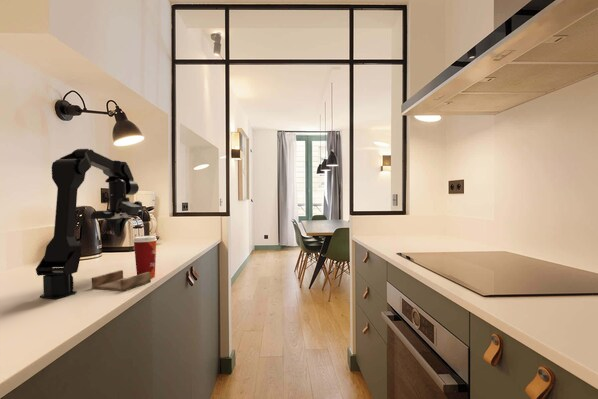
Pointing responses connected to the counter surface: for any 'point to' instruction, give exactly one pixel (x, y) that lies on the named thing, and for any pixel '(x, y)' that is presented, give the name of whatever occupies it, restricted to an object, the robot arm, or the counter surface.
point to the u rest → (119, 281)
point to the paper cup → (145, 254)
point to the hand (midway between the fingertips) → (118, 236)
